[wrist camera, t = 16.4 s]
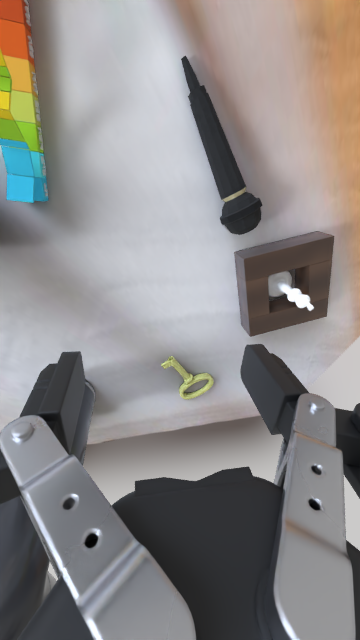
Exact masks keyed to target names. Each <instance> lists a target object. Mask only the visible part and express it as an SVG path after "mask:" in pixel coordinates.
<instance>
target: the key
mask: <svg viewBox="0 0 360 640" xmlns="http://www.w3.org/2000/svg"><path fill="white" fill-rule="evenodd" d="M171 365H172V366H173V367H174V368H175V369H176V370H177V371H178V372H179V374H180V375H181V376H182V377H183V378H184V383H183V384H182V385H181V387H180V388H179V394H180V396H181V397H182V398H183V399H192V398H195V397H197V396H199V395H201V394H203V393H204V392H206V391H207V390H209V389H210V388H211V387H212V385H213V383H214V382H213V378H212V376H211V375H210V374H208V373H202V374H198V375H195V376H193V375H192V374H190V373H187V372H186V370H185V369H184V368H183V367H182V366H181V365H180V364H179V363H178V362H177V361H176V360H175V359H174V357H172V356H171V357H169V358H168V361H166V362H164V363H163V364H161V366H162V367H163V368H164V369H166V368H168V367H170V366H171ZM205 379H207V380H209V381H208V383H207V384H206V385H205V386H204V387H203V388H201V389H200V390H198V391H196V392H193V393H183V392H184V391H185V390H186V389H187V388H188V387H189V386H191V385H192V384H194V383H196V382H198V381H201V380H205Z"/></svg>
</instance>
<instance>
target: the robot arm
mask: <svg viewBox="0 0 360 640" xmlns="http://www.w3.org/2000/svg"><path fill="white" fill-rule="evenodd" d="M241 379H242V381H243V383H244V385H245V387H246V389H247V390H248V392H249V394H250V396H251V398H252V400H253V402H254V403H255V405H256V407H257V409H258V411H259V413H260V414H261V416H262V418H263V420H264V422H265V423H266V425H267V427H268V429H269V431H270V433H271V434H272V435H275V434H282V435H283V437H284V439H283V442H282V446H281V450H280V456H279V461H278V465H277V470H276V475H275V479H274V483H272V482H270V481H267V480H265V479H262V478H259V477H254V476H253V475H252V473H251V470H250V468H249V467H242V468H234V469H226V470H222V471H219V472H217V473H214V474H212V475H210V476H208V477H205V478H203V479H201V480H198V481H188V480H181V479H173V478H166V477H163V478H156V479H148V480H140V481H135V491H134V492H132V493H129V494H128V495H126V496H124V497H122V498H121V499H119V500H118V501H117V502H116V503H114V504H113V505H112V506H111V505H110V503H109V502H108V500H107V499H106V498H105V496H104V495H103V493H102V492H101V491H100V490H99V488H98V487H97V485H96V484H95V482H94V481H93V480H92V478H91V477H90V476H89V474H88V473H87V471H86V470H85V469H84V467H83V461H84V456H85V450H86V445H87V439H88V433H89V428H90V422H91V416H92V411H93V405H94V402H95V397H96V394H95V390H94V388H93V387H92V385H91V384H90V383H88V382H87V381H85V376H84V369H83V363H82V356H81V352H80V351H79V352H62V354H61V356H60V359H59V361H58V364H49V365H48V366H47V367H46V368H45V369H44V370H42V371H41V373H40V375H39V377H38V379H37V382H36V383H35V385H34V388H33V390H32V392H31V394H30V396H29V398H28V400H27V402H26V404H25V406H24V409H23V411H22V413H21V415H20V417H19V418H18V419H16V420H14V421H12V422H10V423H9V424H8V425H7V426H5V427H4V429H3V430H2V431H1V432H0V640H360V551H359V550H358V549H356V548H355V547H354V546H353V545H352V544H350V543H349V542H348V541H347V540H346V531H345V530H346V529H345V503H344V476H343V474H344V475H345V477H346V478H347V480H348V481H349V483H350V484H351V486H352V487H353V489H354V491H355V492H356V494H357V495H358V497H359V498H360V403H359V404H357V405H356V407H355V408H354V411H348V410H342V409H337V408H334V407H333V405H332V404H331V403H330V402H329V401H327V400H326V399H324V398H323V397H321V396H318V395H316V394H311V393H309V392H308V391H307V390H306V388H305V387H304V386H303V385H302V383H301V382H300V381H299V380H298V379H297V377H296V376H295V375H294V374H292V371H291V370H290V369H289V368H287V365H286V364H285V363H284V362H283V361H282V359H280V358H279V357H277V356H276V355H274V354H273V353H272V354H270V353H269V352H268V350H267V349H266V348H265V347H264V345H262V344H255V345H247V346H246V347H245V351H244V356H243V361H242V365H241ZM49 562H51V564H52V566H53V569H54V570H55V573H56V575H57V577H58V581H56V580H55V578H54V577H53V576H52V575H51V574H50V573H49V572H48V567H49Z"/></svg>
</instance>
